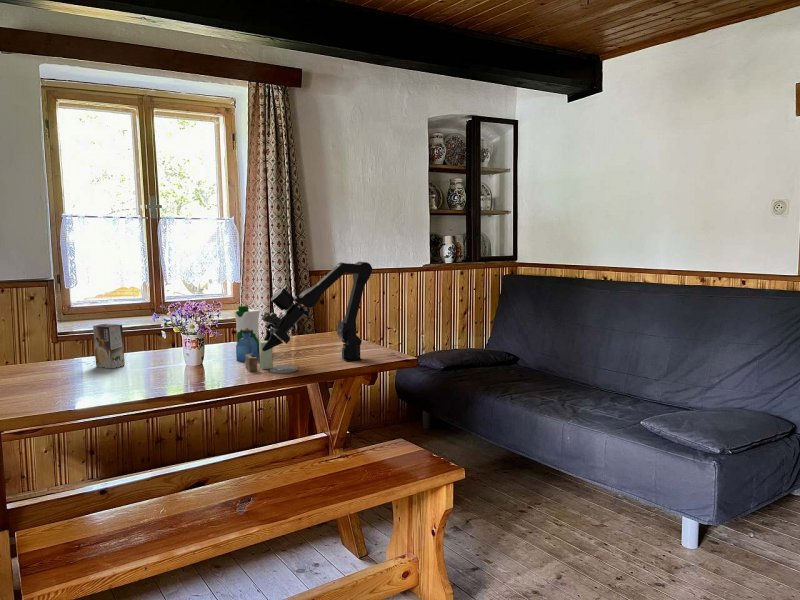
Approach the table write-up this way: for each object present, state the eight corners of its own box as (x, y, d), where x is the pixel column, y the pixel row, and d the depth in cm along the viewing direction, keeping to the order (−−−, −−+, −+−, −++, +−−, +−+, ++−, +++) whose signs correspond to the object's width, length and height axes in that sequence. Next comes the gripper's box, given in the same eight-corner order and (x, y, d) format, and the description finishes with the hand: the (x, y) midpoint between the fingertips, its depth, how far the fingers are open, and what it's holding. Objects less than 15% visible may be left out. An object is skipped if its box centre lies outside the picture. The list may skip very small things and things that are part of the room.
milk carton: (233, 353, 258) (231, 306, 256) (249, 349, 265) (247, 303, 263) (248, 355, 253) (246, 307, 251) (263, 351, 261) (262, 305, 258)
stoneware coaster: (293, 366, 233) (293, 364, 233) (300, 371, 224) (300, 370, 224) (267, 368, 229) (267, 367, 229) (273, 374, 220) (273, 372, 220)
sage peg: (270, 366, 233) (269, 340, 232) (272, 368, 230) (271, 342, 228) (259, 367, 232) (259, 341, 230) (262, 369, 228) (261, 342, 227)
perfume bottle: (251, 361, 242) (250, 331, 240) (236, 360, 243) (235, 331, 242) (257, 358, 248) (256, 329, 246) (243, 357, 249) (242, 328, 248)
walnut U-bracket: (252, 366, 233) (252, 353, 232) (257, 371, 225) (256, 357, 224) (245, 367, 232) (245, 354, 231) (249, 371, 224) (249, 358, 223)
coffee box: (125, 365, 236) (123, 324, 234) (112, 369, 230) (109, 326, 228) (108, 363, 239) (106, 323, 238) (94, 367, 234) (92, 325, 232)
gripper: (269, 301, 238) (241, 331, 235) (280, 307, 221) (250, 339, 218) (290, 320, 242) (263, 350, 239) (302, 327, 225) (273, 359, 222)
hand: (261, 349), depth 229 cm, fingers closed on sage peg, 4 cm apart
